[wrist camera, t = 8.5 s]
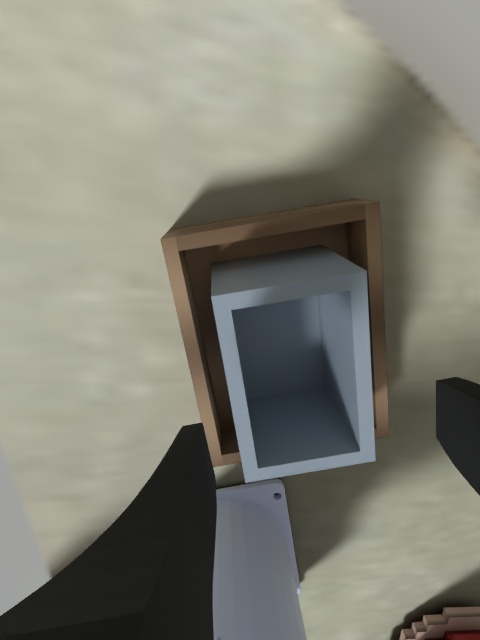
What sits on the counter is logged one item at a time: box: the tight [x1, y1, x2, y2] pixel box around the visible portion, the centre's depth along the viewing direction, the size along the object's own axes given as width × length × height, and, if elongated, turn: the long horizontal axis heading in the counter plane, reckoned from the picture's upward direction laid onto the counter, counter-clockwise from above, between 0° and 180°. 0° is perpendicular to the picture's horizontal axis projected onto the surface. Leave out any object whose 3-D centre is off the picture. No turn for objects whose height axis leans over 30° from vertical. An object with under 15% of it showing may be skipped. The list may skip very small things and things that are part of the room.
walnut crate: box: [161, 199, 389, 467], centre depth 20 cm, size 11×9×4 cm
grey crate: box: [211, 245, 376, 483], centre depth 18 cm, size 8×5×6 cm
